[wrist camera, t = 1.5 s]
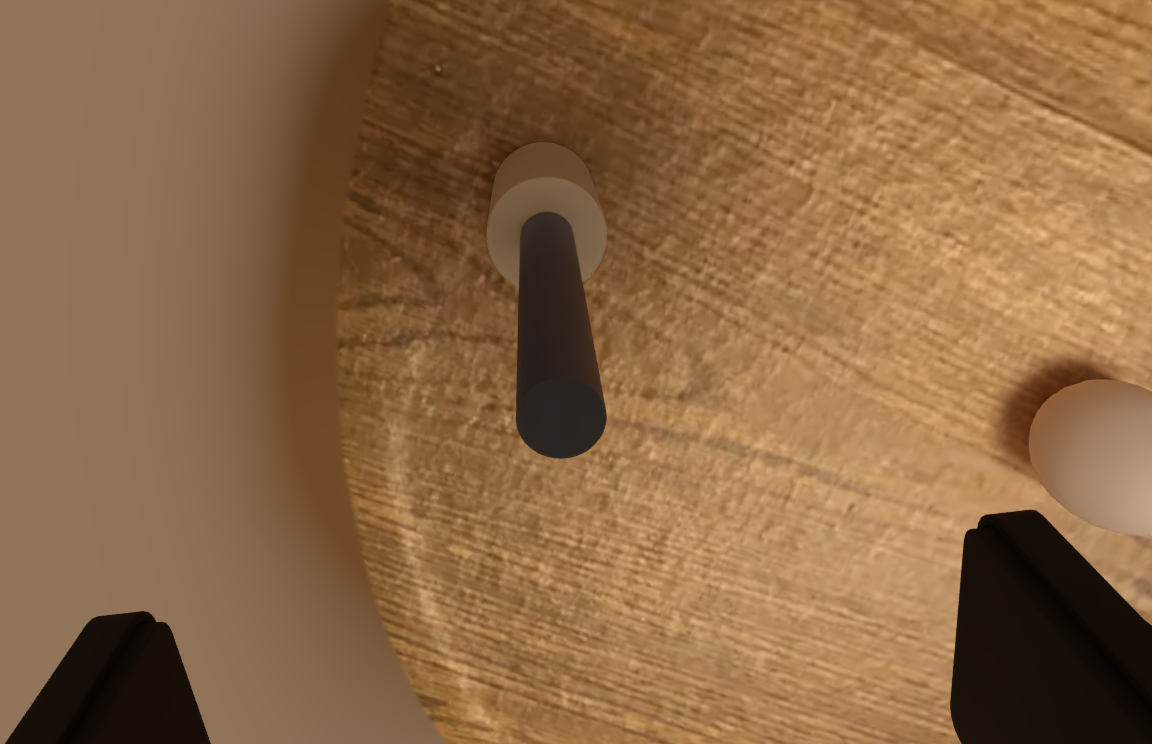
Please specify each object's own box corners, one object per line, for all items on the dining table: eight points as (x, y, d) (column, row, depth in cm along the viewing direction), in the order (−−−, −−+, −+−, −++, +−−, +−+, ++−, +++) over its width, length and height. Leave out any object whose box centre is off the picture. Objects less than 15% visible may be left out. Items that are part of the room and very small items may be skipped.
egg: (974, 444, 38) (1071, 547, 31) (1048, 334, 36) (1169, 418, 29) (1076, 485, 39) (1192, 594, 32) (1153, 381, 37) (1294, 472, 30)
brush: (472, 182, 32) (416, 402, 16) (554, 120, 31) (585, 283, 15) (533, 260, 33) (540, 540, 17) (613, 203, 33) (701, 438, 16)
